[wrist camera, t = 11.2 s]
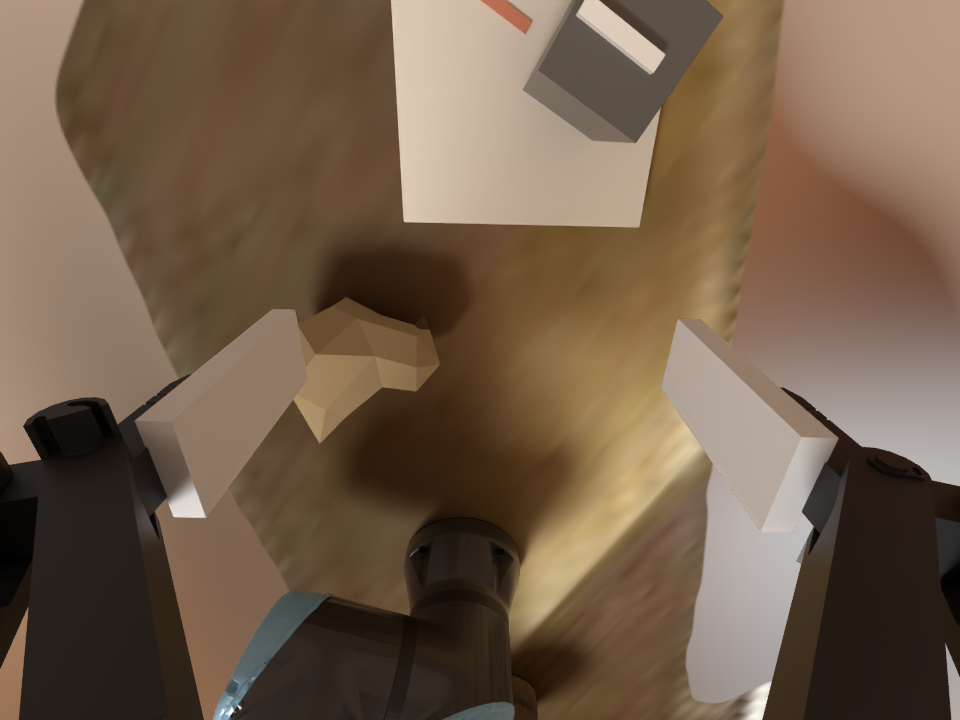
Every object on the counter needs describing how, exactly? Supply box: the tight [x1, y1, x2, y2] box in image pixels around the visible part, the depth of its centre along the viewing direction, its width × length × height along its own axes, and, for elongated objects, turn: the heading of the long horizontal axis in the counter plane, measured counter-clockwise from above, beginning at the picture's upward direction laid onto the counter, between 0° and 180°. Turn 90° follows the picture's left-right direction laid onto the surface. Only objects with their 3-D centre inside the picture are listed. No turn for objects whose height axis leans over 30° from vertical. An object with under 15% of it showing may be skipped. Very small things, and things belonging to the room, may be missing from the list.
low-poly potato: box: [294, 297, 440, 443], centre depth 40 cm, size 15×11×12 cm
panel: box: [391, 0, 661, 227], centre depth 32 cm, size 16×20×7 cm
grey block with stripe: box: [523, 0, 723, 143], centre depth 27 cm, size 7×7×12 cm
